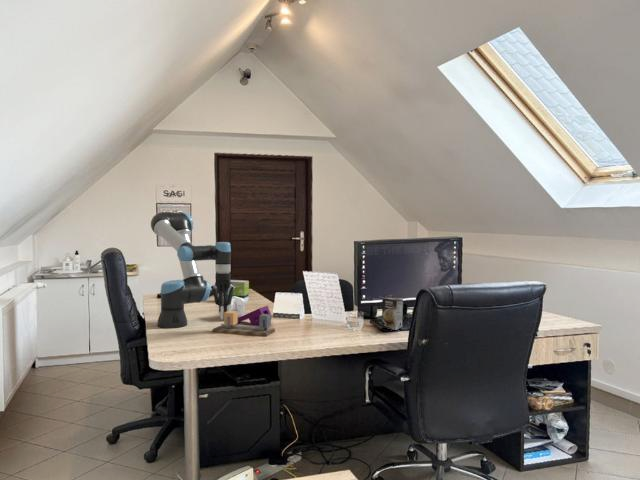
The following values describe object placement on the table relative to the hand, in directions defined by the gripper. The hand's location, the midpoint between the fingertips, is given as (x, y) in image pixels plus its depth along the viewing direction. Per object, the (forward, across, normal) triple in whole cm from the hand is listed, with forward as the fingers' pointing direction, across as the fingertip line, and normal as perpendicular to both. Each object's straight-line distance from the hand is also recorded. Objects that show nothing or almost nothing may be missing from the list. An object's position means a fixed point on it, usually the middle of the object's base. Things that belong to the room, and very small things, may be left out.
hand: (223, 318), depth 247 cm
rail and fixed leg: (+4, +12, 0) cm, 13 cm away
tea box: (+5, -33, +82) cm, 88 cm away
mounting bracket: (+6, +7, +18) cm, 21 cm away
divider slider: (+4, +4, 0) cm, 6 cm away
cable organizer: (+6, -10, +30) cm, 32 cm away
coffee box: (+7, +82, +31) cm, 87 cm away
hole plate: (+6, +12, -1) cm, 13 cm away
